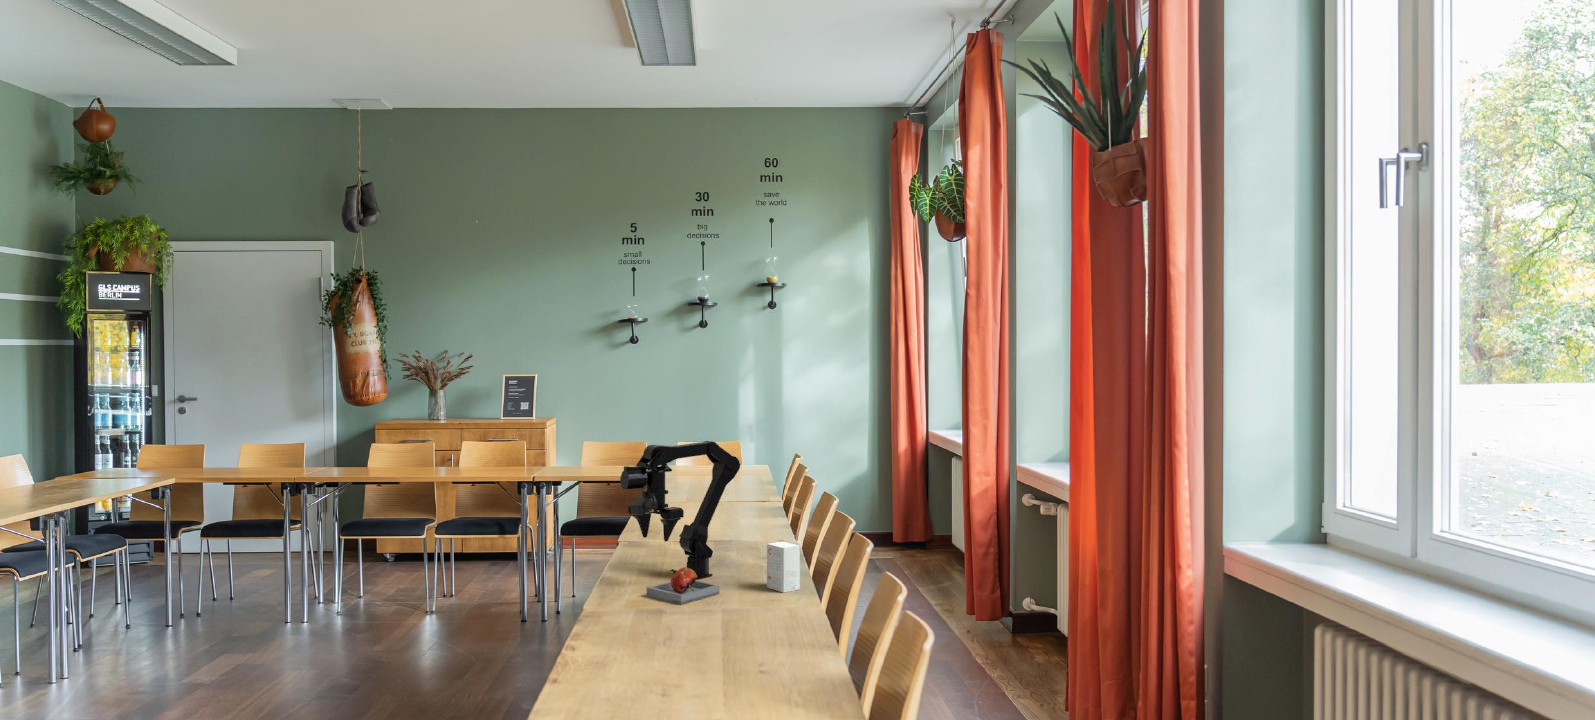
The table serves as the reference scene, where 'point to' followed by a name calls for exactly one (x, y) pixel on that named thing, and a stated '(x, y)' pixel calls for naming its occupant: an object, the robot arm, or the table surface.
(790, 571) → the small box
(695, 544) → the robot arm
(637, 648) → the table surface
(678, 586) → the pomegranate
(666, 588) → the tray
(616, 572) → the table surface
